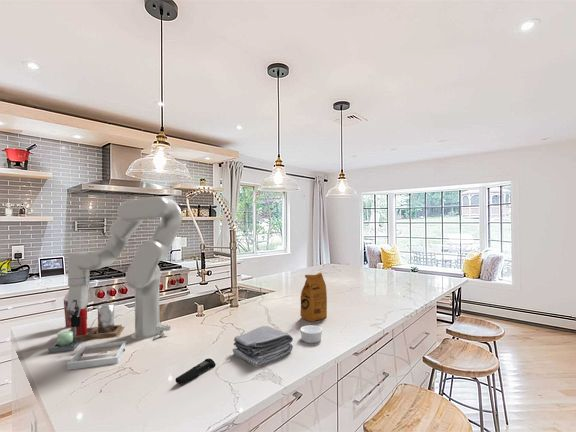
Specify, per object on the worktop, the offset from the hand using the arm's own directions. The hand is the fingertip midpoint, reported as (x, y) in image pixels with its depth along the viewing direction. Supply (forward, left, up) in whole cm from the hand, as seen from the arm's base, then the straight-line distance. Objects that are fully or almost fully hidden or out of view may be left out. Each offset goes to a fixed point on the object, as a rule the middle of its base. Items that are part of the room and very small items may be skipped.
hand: (79, 323), depth 130 cm
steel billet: (-10, 0, -5) cm, 11 cm away
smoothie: (+7, -17, -7) cm, 20 cm away
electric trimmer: (-47, +46, -7) cm, 66 cm away
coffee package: (-103, +6, -7) cm, 103 cm away
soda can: (0, 0, -6) cm, 6 cm away
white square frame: (-13, +22, -7) cm, 26 cm away
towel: (-70, +37, -7) cm, 80 cm away
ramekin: (-92, +31, -7) cm, 97 cm away
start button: (+1, +12, -4) cm, 13 cm away
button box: (+1, +12, -7) cm, 14 cm away
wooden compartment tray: (-5, 0, -7) cm, 8 cm away
